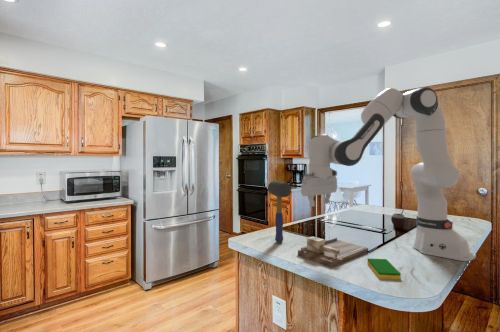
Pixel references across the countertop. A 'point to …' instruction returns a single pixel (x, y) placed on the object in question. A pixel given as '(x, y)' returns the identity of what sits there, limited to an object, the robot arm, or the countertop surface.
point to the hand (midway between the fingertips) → (319, 204)
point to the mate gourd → (398, 220)
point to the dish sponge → (384, 269)
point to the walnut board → (329, 259)
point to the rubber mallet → (279, 205)
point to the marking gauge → (320, 246)
